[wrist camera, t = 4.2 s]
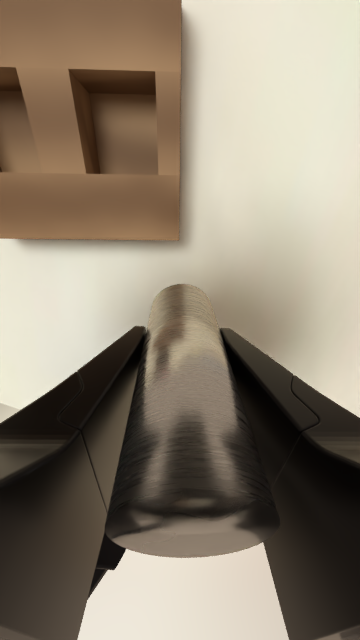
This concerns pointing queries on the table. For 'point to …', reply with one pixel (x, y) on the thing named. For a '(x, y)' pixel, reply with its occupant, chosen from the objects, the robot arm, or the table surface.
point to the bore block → (90, 119)
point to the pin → (188, 444)
